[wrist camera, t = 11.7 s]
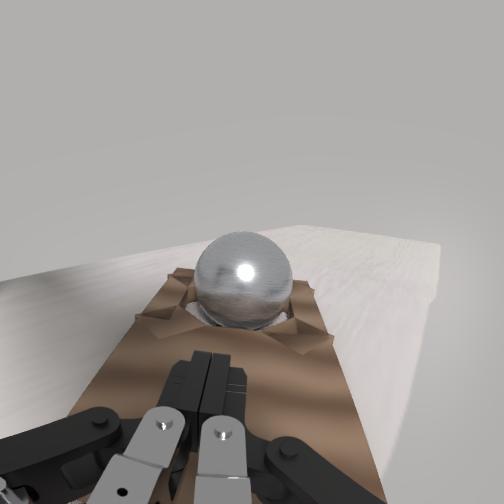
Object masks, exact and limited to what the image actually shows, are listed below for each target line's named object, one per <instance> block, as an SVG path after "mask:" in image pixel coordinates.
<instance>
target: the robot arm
mask: <svg viewBox="0 0 504 504" xmlns="http://www.w3.org/2000/svg"><path fill="white" fill-rule="evenodd" d="M230 362H231V355H230V354H222V353H214V352H213V356H212V352H206V351H199V350H194V352H193V355H192V358H191V361H185V360H179V361H178V362H177V363H176V364H174V365H173V366H172V368H171V371H170V373H169V376H168V378H167V380H166V383H165V385H164V388H163V390H162V393H161V395H160V398H159V400H158V403H157V405H156V407H155V408H153V409H150V410H149V411H148V412H147V413H146V414H145V415H144V417H142V418H137V419H120V418H119V416H118V414H117V413H116V412H115V411H114V410H112V409H110V408H107V407H101V406H99V407H93V408H90V409H87V410H84V411H82V412H79V413H76V414H74V415H71V416H68V417H66V418H63V419H60V420H57V421H55V422H52V423H49V424H46V425H43V426H40V427H37V428H34V429H31V430H28V431H25V432H22V433H19V434H16V435H13V436H9V437H6V438H3V439H0V504H67V503H69V502H72V501H74V500H77V499H79V498H81V497H84V496H86V495H88V494H91V493H92V494H91V496H90V498H89V499H88V501H87V503H83V504H175V503H176V500H177V497H178V494H179V491H180V488H181V485H182V482H183V479H184V476H185V473H186V470H187V463H188V460H189V456H190V452H194V453H197V452H198V447H199V461H198V472H197V474H196V482H195V494H194V504H252V500H251V493H254V494H256V496H257V498H258V499H259V500H260V501H261V502H262V503H263V504H387V503H385V502H384V501H382V500H381V499H379V498H378V497H376V496H375V495H373V494H372V493H371V492H369V491H368V490H366V489H365V488H363V487H362V486H361V485H359V484H358V483H356V482H355V481H354V480H352V479H351V478H350V477H348V476H347V475H346V474H344V473H343V472H342V471H340V470H339V469H338V468H336V467H335V466H334V465H332V464H331V463H330V462H329V461H327V460H326V459H325V458H323V457H322V456H321V455H320V454H318V453H317V452H316V451H315V450H314V449H312V448H311V447H310V446H309V445H307V444H306V443H305V442H304V441H302V440H300V439H298V438H296V437H291V436H282V437H278V438H275V439H273V440H272V441H268V440H265V439H262V438H259V437H257V436H255V435H253V434H252V433H251V432H250V431H249V430H248V429H247V427H246V425H245V407H246V391H247V375H246V373H245V371H244V370H243V368H238V367H230Z"/></svg>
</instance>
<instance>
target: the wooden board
mask: <svg viewBox="0 0 504 504" xmlns="http://www.w3.org/2000/svg"><path fill="white" fill-rule="evenodd" d="M194 272H195V270H193V269H184V268H177V269H176V270H175V271H174V272H173V274H168V280H167V281H166V283H165V284H164V285H163V286H162V288H161V289H160V290H159V291H158V293H157V294H156V295H155V297H154V298H153V299H152V300H151V302H150V303H149V304H148V306H147V307H146V308H145V310H144V311H143V312H142V313H141V314H136V315H135V323H134V324H133V325H132V327H131V328H130V329H129V331H128V332H127V333H126V335H125V336H124V337H123V339H122V340H121V341H120V343H119V344H118V345H117V347H116V348H115V349H114V351H113V352H112V353H111V355H110V356H109V358H108V359H107V360H106V362H105V363H104V364H103V366H102V367H101V369H100V370H99V371H98V373H97V374H96V376H95V377H94V378H93V380H92V381H91V383H90V384H89V385H88V387H87V388H86V390H85V391H84V393H83V394H82V395H81V397H80V398H79V400H78V401H77V403H76V404H75V406H74V407H73V408H72V410H71V411H70V413H69V414H68V416H71V415H74V414H76V413H79V412H82V411H84V410H87V409H90V408H93V407H99V406H101V407H107V408H110V409H112V410H114V411H115V412H116V413H117V414H118V416H119V418H120V419H137V418H142V417H144V415H145V414H146V413H147V412H148V411H149V410H150V409H153V408H155V407H156V405H157V403H158V400H159V398H160V395H161V393H162V390H163V388H164V385H165V383H166V380H167V378H168V376H169V373H170V371H171V368H172V366H173V365H174V364H176V363H177V362H178V361H179V360H185V361H191V358H192V355H193V352H194V350H199V351H206V352H212V356H213V352H214V353H222V354H230V355H231V362H230V367H238V368H243V370H244V371H245V373H246V375H247V391H246V407H245V425H246V427H247V429H248V430H249V431H250V432H251V433H252V434H253V435H255V436H257V437H259V438H262V439H265V440H268V441H272V440H273V439H275V438H278V437H282V436H291V437H296V438H298V439H300V440H302V441H304V442H305V443H306V444H307V445H309V446H310V447H311V448H312V449H314V450H315V451H316V452H317V453H318V454H320V455H321V456H322V457H323V458H325V459H326V460H327V461H329V462H330V463H331V464H332V465H334V466H335V467H336V468H338V469H339V470H340V471H342V472H343V473H344V474H346V475H347V476H348V477H350V478H351V479H352V480H354V481H355V482H356V483H358V484H359V485H361V486H362V487H363V488H365V489H366V490H368V491H369V492H371V493H372V494H373V495H375V496H376V497H378V498H379V499H381V500H382V501H384V502H385V503H387V501H386V498H385V495H384V491H383V488H382V485H381V482H380V478H379V475H378V472H377V469H376V466H375V463H374V460H373V457H372V454H371V451H370V448H369V445H368V442H367V439H366V436H365V433H364V430H363V427H362V425H361V422H360V419H359V416H358V413H357V410H356V407H355V405H354V402H353V399H352V396H351V393H350V391H349V388H348V385H347V382H346V380H345V377H344V374H343V372H342V369H341V366H340V364H339V361H338V358H337V356H336V353H335V350H334V348H333V345H332V344H333V340H334V336H333V335H331V334H328V332H327V329H326V327H325V324H324V322H323V319H322V317H321V314H320V312H319V309H318V306H317V304H316V301H315V299H314V289H312V288H310V286H309V284H308V282H307V281H300V280H293V285H292V292H291V296H290V299H289V301H288V303H287V305H286V307H285V308H284V310H283V311H284V312H286V313H288V318H289V320H286V321H284V322H281V323H279V324H277V325H274V326H272V327H269V328H267V329H264V330H262V331H254V330H244V329H234V328H225V327H216V326H208V325H205V324H204V323H203V322H201V321H200V320H198V319H197V318H196V317H194V316H193V315H191V314H190V313H189V312H187V311H186V310H185V307H186V305H187V303H189V302H194V301H198V300H197V298H196V295H195V290H194ZM68 416H67V417H68ZM198 461H199V447H198V452H197V453H194V452H190V456H189V460H188V463H187V470H186V473H185V476H184V479H183V482H182V485H181V488H180V491H179V494H178V497H177V500H176V503H175V504H194V494H195V482H196V474H197V472H198ZM91 494H92V493H91ZM91 494H88V495H86V496H84V497H81V498H79V499H77V500H80V501H82V502H85V503H87V501H88V499H89V498H90V496H91ZM251 500H252V504H263V503H262V502H261V501H260V500H259V499H258V498H257V496H256V494H254V493H251Z"/></svg>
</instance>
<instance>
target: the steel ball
mask: <svg viewBox="0 0 504 504" xmlns="http://www.w3.org/2000/svg"><path fill="white" fill-rule="evenodd" d="M292 285H293V278H292V271H291V267H290V264H289V261H288V259H287V257H286V255H285V254H284V253H283V251H282V250H281V249H280V248H279V247H278V246H277V245H276V244H275V243H274V242H273V241H271V240H270V239H268V238H266V237H264V236H262V235H260V234H256V233H252V232H234V233H230V234H227V235H224V236H222V237H220V238H218V239H216V240H215V241H213V242H212V243H211V244H210V245H209V246H208V247H207V248H206V249H205V250H204V251H203V253H202V255H201V256H200V258H199V260H198V262H197V265H196V268H195V272H194V290H195V295H196V298H197V300H198V303H199V304H200V306H201V308H202V309H203V311H204V312H205V313H206V314H207V315H208V316H209V317H210V318H211V319H212V320H213V321H214V322H216V323H218V324H219V325H221V326H223V327H226V328H234V329H244V330H254V329H257V328H261V327H263V326H265V325H267V324H269V323H270V322H272V321H273V320H274V319H276V318H277V317H278V316H279V315H280V314H281V312H282V311H283V310H284V308H285V307H286V305H287V303H288V301H289V299H290V296H291V292H292Z"/></svg>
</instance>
